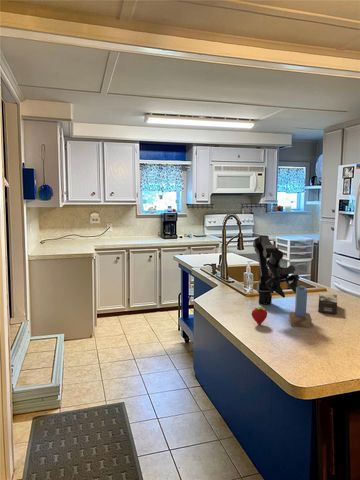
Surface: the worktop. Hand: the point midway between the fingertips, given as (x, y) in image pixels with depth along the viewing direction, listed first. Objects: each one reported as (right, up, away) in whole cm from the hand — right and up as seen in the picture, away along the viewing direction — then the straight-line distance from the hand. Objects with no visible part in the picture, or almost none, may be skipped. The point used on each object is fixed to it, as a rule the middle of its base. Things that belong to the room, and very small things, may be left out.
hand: (291, 295), depth 178 cm
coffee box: (+28, -6, +25) cm, 38 cm away
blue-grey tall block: (+3, -9, -4) cm, 10 cm away
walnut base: (+3, -13, -4) cm, 13 cm away
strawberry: (-17, -13, -6) cm, 22 cm away
